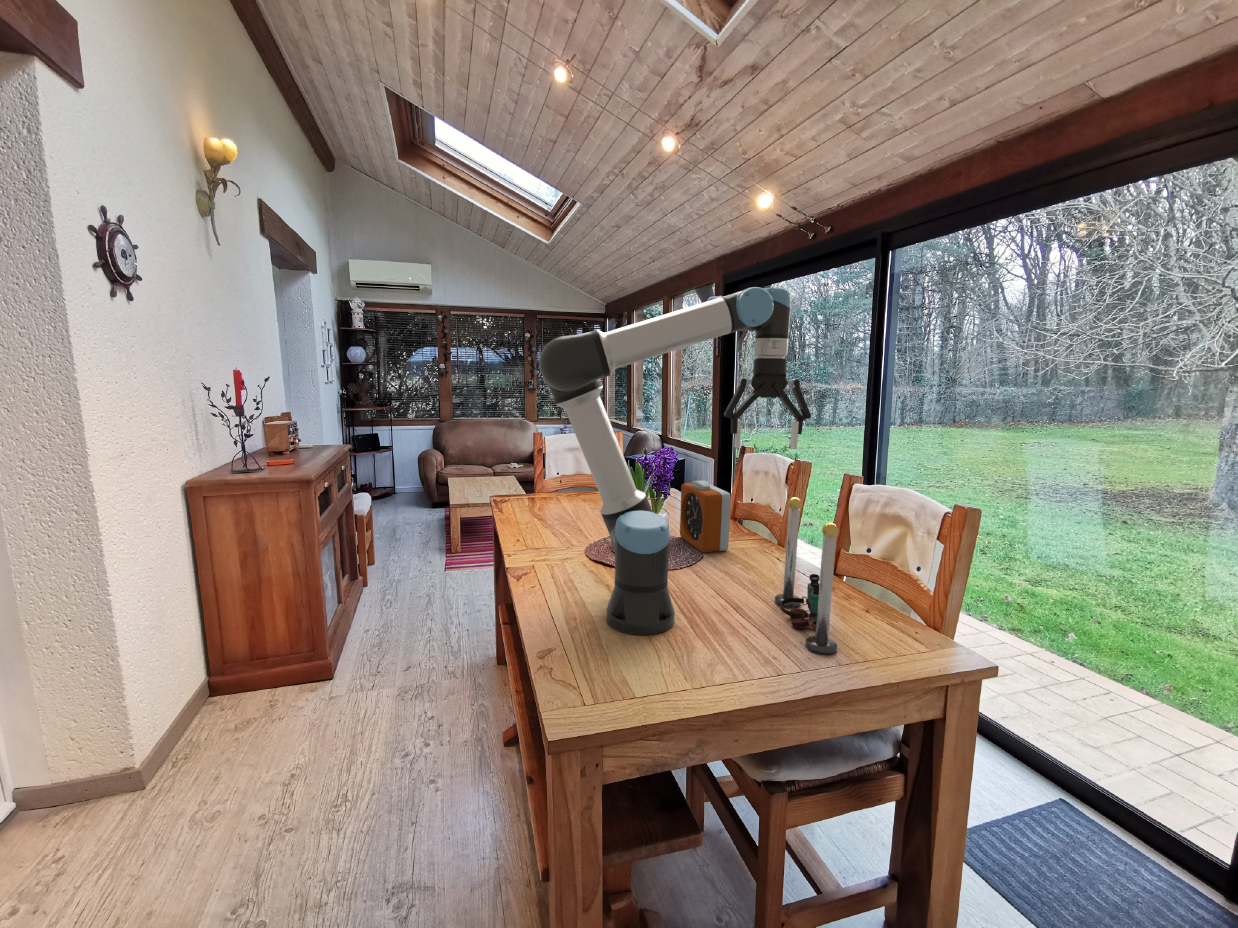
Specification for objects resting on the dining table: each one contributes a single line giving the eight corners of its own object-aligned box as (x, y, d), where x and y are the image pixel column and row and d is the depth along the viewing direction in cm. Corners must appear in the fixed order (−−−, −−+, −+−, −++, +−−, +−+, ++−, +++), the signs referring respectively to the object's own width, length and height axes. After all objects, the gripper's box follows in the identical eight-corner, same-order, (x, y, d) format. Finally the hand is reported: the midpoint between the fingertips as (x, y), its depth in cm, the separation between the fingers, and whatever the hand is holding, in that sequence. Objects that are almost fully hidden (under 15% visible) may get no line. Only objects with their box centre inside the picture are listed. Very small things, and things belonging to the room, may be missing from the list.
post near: (811, 654, 111) (821, 527, 107) (801, 640, 117) (810, 518, 113) (841, 655, 111) (852, 527, 107) (829, 640, 117) (839, 519, 113)
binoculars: (778, 572, 129) (824, 571, 126) (780, 616, 130) (825, 616, 128) (781, 586, 120) (830, 586, 118) (783, 633, 121) (832, 634, 119)
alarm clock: (678, 536, 187) (680, 476, 184) (702, 534, 190) (705, 474, 187) (703, 554, 170) (705, 487, 167) (729, 551, 173) (732, 486, 169)
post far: (778, 607, 133) (786, 500, 128) (771, 597, 139) (778, 494, 134) (804, 608, 133) (812, 500, 128) (796, 597, 139) (803, 494, 134)
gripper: (720, 356, 128) (716, 449, 131) (829, 358, 128) (822, 450, 132) (714, 357, 135) (710, 444, 139) (818, 358, 135) (811, 446, 139)
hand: (765, 447), depth 135 cm, fingers open, 13 cm apart
